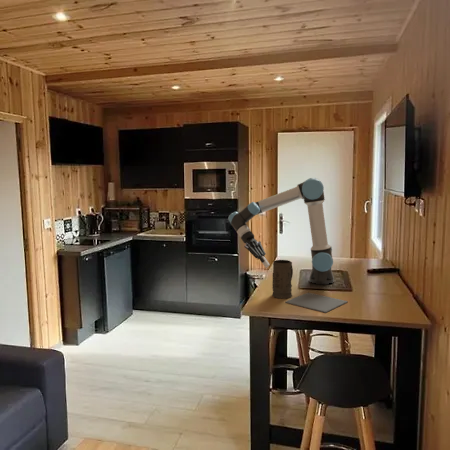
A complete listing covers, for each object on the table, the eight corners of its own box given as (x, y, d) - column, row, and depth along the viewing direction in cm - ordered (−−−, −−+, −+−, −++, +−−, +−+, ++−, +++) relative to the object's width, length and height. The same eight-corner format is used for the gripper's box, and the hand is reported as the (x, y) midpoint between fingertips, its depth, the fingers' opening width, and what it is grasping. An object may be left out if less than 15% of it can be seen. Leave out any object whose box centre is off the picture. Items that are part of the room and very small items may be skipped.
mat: (285, 302, 220) (285, 301, 220) (308, 293, 236) (308, 292, 236) (325, 312, 204) (325, 311, 204) (347, 302, 220) (347, 301, 219)
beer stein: (286, 300, 224) (287, 263, 223) (268, 297, 230) (269, 261, 229) (297, 294, 238) (298, 259, 236) (280, 291, 243) (281, 257, 242)
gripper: (249, 237, 256) (271, 268, 247) (235, 239, 247) (257, 272, 238) (256, 229, 252) (278, 260, 243) (241, 231, 243) (264, 264, 233)
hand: (267, 266), depth 240 cm, fingers closed
